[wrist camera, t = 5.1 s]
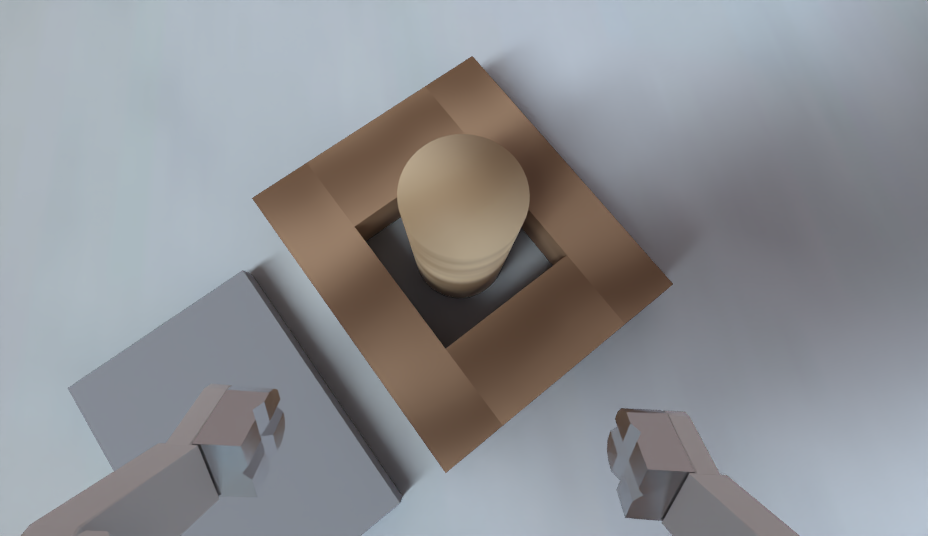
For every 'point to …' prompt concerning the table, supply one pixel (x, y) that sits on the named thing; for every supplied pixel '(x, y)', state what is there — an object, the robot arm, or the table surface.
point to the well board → (511, 325)
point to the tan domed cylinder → (462, 211)
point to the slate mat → (255, 365)
